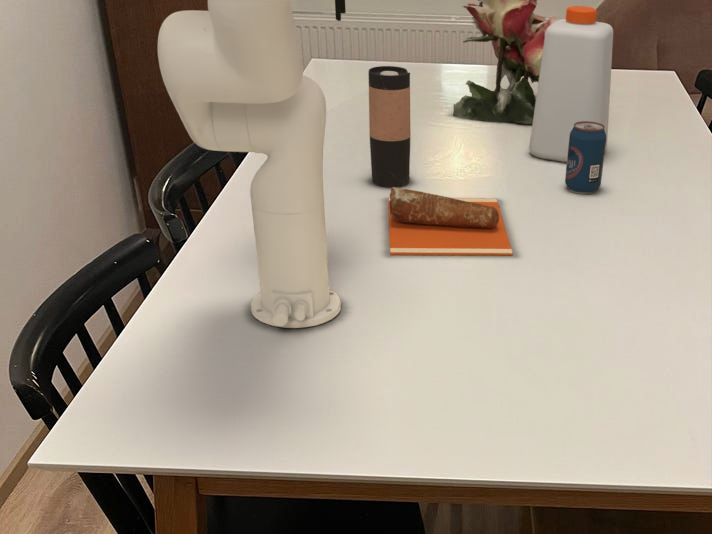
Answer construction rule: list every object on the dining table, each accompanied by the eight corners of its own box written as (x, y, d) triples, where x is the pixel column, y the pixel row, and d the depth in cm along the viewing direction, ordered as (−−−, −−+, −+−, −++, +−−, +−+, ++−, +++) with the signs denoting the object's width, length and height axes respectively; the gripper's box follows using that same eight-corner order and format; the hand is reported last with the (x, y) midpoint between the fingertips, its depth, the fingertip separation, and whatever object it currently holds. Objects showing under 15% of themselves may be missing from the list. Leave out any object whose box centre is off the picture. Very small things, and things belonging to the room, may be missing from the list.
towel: (512, 255, 151) (512, 253, 151) (390, 254, 149) (390, 252, 149) (496, 200, 172) (496, 198, 172) (388, 199, 170) (388, 197, 170)
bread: (393, 213, 163) (393, 182, 160) (500, 224, 162) (502, 192, 158) (385, 226, 158) (384, 194, 155) (495, 237, 156) (497, 204, 153)
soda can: (557, 185, 181) (563, 122, 174) (587, 181, 183) (594, 118, 176) (576, 197, 176) (583, 132, 169) (607, 192, 178) (615, 128, 171)
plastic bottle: (523, 157, 194) (534, 10, 178) (543, 139, 206) (554, -1, 189) (594, 168, 190) (611, 18, 174) (609, 148, 202) (627, 6, 186)
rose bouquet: (572, 129, 213) (586, -17, 195) (447, 118, 216) (450, -27, 198) (580, 102, 234) (593, -33, 216) (466, 92, 237) (470, -42, 219)
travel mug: (362, 182, 177) (359, 71, 165) (384, 172, 182) (382, 63, 171) (397, 190, 174) (395, 77, 162) (417, 179, 180) (418, 69, 168)
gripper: (226, -123, 120) (241, 22, 130) (361, -117, 122) (365, 25, 132) (232, -128, 126) (246, 11, 136) (361, -123, 127) (365, 14, 138)
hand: (305, 18), depth 134 cm, fingers open, 9 cm apart
